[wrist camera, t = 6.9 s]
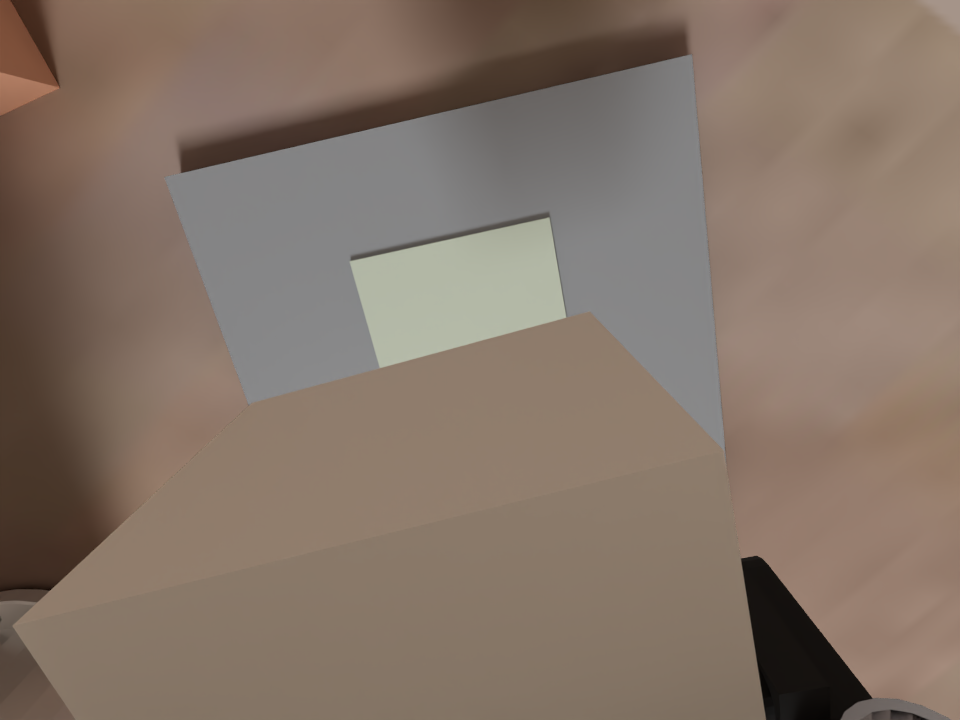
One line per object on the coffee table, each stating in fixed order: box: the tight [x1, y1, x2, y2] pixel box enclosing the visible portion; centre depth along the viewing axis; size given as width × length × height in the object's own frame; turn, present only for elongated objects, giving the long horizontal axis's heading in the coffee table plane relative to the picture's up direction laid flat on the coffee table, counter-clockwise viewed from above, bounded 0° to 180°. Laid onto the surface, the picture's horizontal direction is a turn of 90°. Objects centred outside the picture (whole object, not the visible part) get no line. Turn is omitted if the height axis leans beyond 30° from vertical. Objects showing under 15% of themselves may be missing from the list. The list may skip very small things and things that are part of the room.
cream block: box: [13, 311, 766, 720], centre depth 8 cm, size 9×6×5 cm, turn 16°
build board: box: [165, 54, 726, 461], centre depth 23 cm, size 20×20×1 cm
